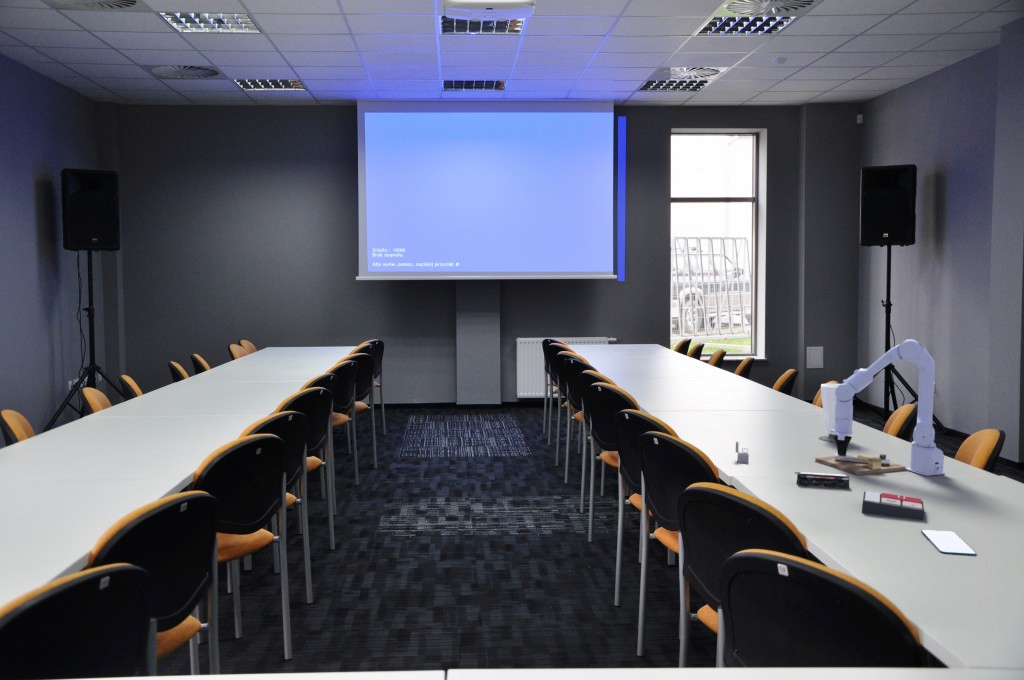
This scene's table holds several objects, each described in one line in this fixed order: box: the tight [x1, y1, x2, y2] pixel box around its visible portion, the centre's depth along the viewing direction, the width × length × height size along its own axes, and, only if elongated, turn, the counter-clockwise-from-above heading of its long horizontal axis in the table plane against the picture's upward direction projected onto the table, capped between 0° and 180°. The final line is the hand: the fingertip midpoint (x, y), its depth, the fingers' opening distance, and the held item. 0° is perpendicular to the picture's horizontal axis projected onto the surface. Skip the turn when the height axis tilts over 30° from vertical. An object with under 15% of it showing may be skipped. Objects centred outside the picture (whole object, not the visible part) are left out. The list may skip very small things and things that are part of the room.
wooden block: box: [857, 453, 881, 469], centre depth 261 cm, size 7×4×3 cm, turn 19°
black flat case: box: [795, 471, 850, 490], centre depth 241 cm, size 14×25×4 cm, turn 76°
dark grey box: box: [861, 490, 925, 521], centre depth 216 cm, size 11×4×15 cm
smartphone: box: [920, 529, 977, 557], centre depth 190 cm, size 8×1×16 cm
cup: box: [818, 383, 841, 443], centre depth 310 cm, size 12×12×22 cm
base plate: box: [814, 453, 907, 476], centre depth 268 cm, size 20×20×4 cm
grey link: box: [834, 453, 891, 465], centre depth 267 cm, size 17×4×2 cm, turn 64°
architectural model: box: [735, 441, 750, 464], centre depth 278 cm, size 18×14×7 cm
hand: (841, 456), depth 272 cm, fingers closed
